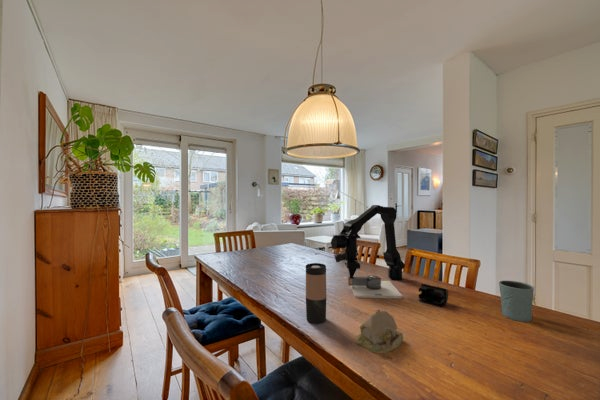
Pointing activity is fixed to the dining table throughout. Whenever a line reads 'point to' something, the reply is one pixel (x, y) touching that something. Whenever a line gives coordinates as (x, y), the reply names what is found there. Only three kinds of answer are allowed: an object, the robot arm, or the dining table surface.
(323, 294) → the travel mug
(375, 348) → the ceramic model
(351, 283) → the lever
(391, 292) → the plate
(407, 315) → the dining table surface
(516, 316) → the green cup
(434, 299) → the end cap
